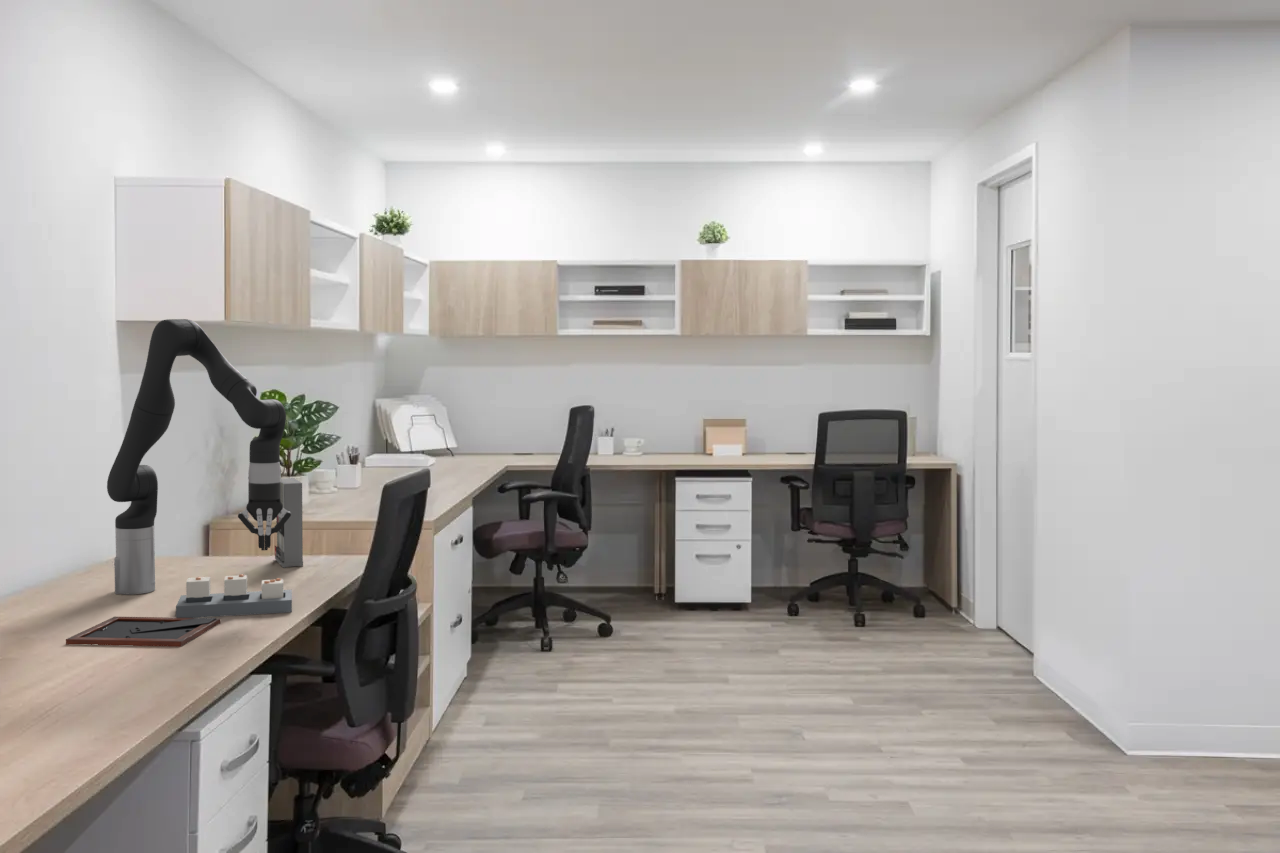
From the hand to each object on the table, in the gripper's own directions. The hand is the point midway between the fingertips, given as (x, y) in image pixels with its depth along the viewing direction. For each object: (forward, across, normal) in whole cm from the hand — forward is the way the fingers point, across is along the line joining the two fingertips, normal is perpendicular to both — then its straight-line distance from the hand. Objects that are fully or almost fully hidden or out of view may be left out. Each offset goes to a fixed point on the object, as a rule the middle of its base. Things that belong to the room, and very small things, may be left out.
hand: (264, 549), depth 258 cm
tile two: (+11, -7, 0) cm, 13 cm away
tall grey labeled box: (+15, +6, +57) cm, 60 cm away
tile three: (+12, +2, -1) cm, 12 cm away
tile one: (+11, -15, 0) cm, 19 cm away
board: (+15, -7, 0) cm, 16 cm away
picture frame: (+15, -25, -18) cm, 34 cm away
